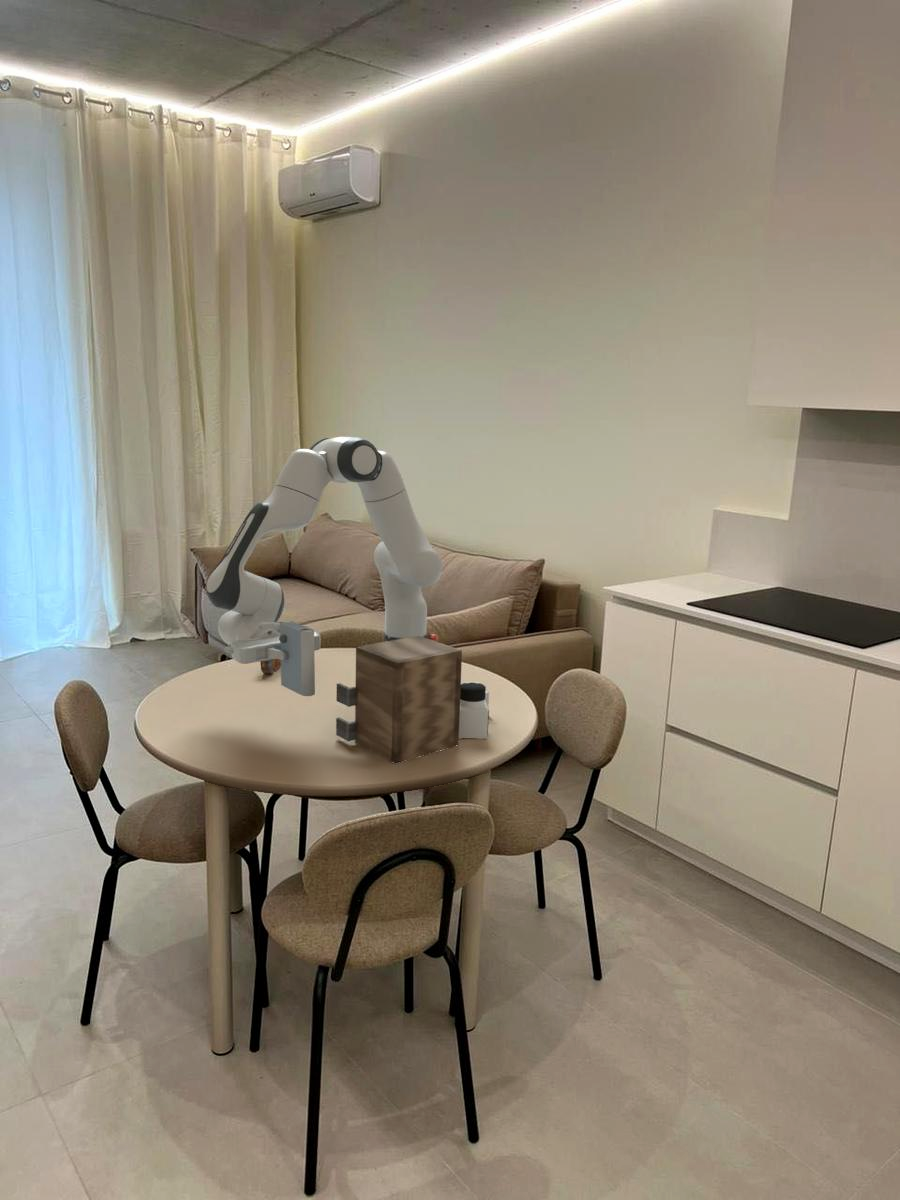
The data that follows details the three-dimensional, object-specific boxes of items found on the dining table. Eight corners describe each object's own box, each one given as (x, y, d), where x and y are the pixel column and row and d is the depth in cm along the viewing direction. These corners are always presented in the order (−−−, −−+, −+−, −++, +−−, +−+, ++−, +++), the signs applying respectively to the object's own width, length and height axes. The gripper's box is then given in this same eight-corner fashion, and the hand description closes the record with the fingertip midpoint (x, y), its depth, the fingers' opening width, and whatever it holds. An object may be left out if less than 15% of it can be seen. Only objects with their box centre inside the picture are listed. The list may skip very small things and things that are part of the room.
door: (276, 686, 195) (274, 624, 192) (293, 682, 198) (292, 621, 195) (300, 698, 188) (299, 634, 184) (317, 694, 190) (316, 630, 187)
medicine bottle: (487, 739, 203) (490, 689, 201) (456, 739, 203) (458, 688, 200) (484, 728, 210) (486, 679, 208) (454, 728, 210) (455, 679, 207)
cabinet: (406, 721, 213) (408, 632, 208) (458, 745, 199) (462, 650, 194) (336, 739, 200) (336, 644, 196) (386, 766, 186) (388, 664, 182)
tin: (269, 677, 243) (269, 647, 241) (258, 677, 243) (257, 647, 242) (285, 662, 258) (285, 634, 256) (275, 661, 258) (275, 633, 256)
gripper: (220, 634, 195) (250, 648, 185) (301, 620, 209) (333, 633, 198) (221, 661, 197) (251, 677, 187) (301, 646, 210) (334, 660, 200)
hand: (294, 654), depth 193 cm, fingers closed on door, 3 cm apart
